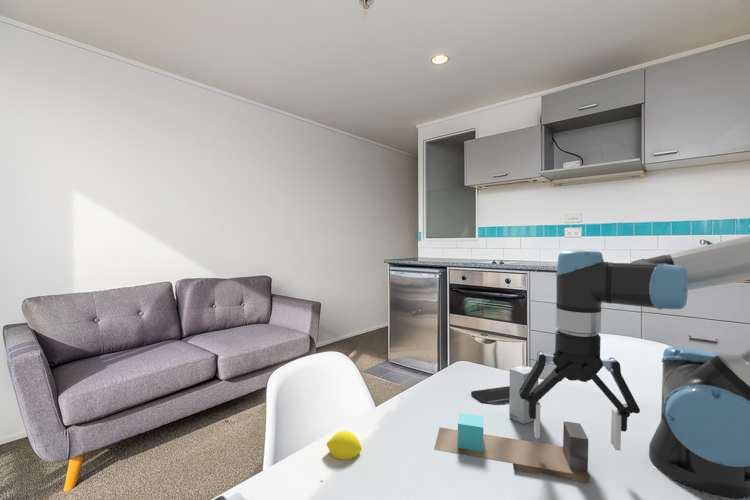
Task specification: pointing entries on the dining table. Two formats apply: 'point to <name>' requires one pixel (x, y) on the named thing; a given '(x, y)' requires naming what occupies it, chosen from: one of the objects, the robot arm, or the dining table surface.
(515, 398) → the skincare box
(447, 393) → the dining table surface
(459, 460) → the dining table surface
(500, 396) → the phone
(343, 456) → the lemon
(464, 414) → the teal block
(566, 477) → the walnut strip
